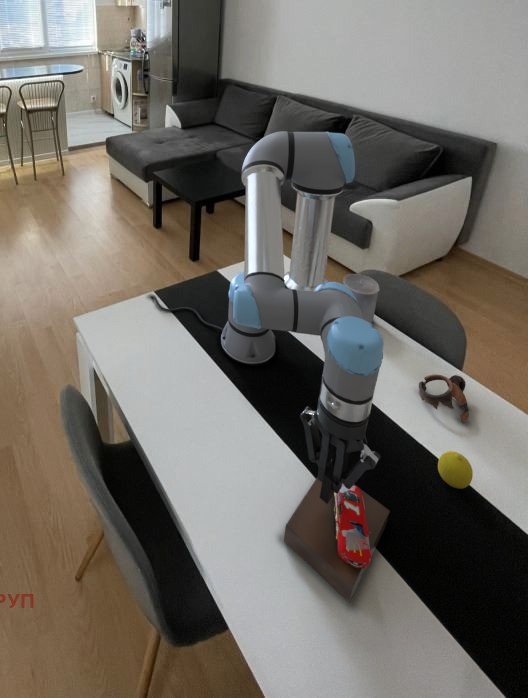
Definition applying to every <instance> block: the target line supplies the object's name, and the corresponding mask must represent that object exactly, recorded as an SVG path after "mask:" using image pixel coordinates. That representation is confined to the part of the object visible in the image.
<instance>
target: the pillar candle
mask: <svg viewBox="0 0 528 698" xmlns="http://www.w3.org/2000/svg"><path fill="white" fill-rule="evenodd" d="M342 284H343V285H345V286H347V287H348V288H349V289H350V290H351V291H352V292H353V294H354V296H355V297H356V299H357V301H358V303H359V305H360V308H361V311H362V315H363V318H364V320H365V321H367V322H369V323H370V324H372V325H373V322H374V317H375V312H376V308H377V301H378V298H379V292H380V285H379V283H378V282H377V281H376V280H375V279H373V278H372V277H370V276H367V275H364V274H361V273H349V274H346V275H345V276H344V277H343V278H342Z"/></svg>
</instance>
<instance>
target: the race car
mask: <svg viewBox="0 0 528 698" xmlns="http://www.w3.org/2000/svg"><path fill="white" fill-rule="evenodd" d="M359 488H360V487H359V486H357V485H356V484H354V485H353V486H352V487H351V488H350V489H347V488H346V487H345V486H344V484H342V488H341V489H340V491H339V492H338V493H337V494H336V493H335V492H334V494H333V504H334V518H335V531H336V540H337V552H338V554H339V556H340V557H341V558H342V559H343V560H344V561H345V562H346V563H347V564H349V565H350V566H352V567H354V568H359V569H362V568H366V569H367V568H368V567H369V566H370V565H371V564H372V563H371V562H372V556H371V551H370V544H369V537H368V534H369V533H371V532H370V531H368V530H367V522H366V515H365V507H364V501H363V497H362V493H361V491H360V489H361V488H360V489H359Z"/></svg>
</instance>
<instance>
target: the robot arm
mask: <svg viewBox="0 0 528 698" xmlns="http://www.w3.org/2000/svg"><path fill="white" fill-rule="evenodd" d="M355 162H356V160H355V154H354V149H353V144H352V141H351V140H350V138H349V136H347V135H346V134H344V133H341V132H329V131H285V130H283V131H276V132H272V133H269V134H267V135H266V136H264V137H261V138H260V140H258V141H256V143H255V144H254V145H253V146H252V147H251V148H250V150H249V151H248V153H247V154H246V156H245V158H244V161H243V163H242V167H241V183H242V184H243V186H244V187H245V205H244V206H245V207H244V208H245V210H244V211H245V213H244V214H245V217H244V220H245V221H244V265H243V266H244V268H243V269H244V271H242V272H241V271H240V272H239V273H238V274H236V275H235V276H233V278H232V279H231V281H230V284H229V290H228V299H229V300H228V315H227V317H228V318H227V322H226V323H225V325H224V327H220V326H218V325H215V324H212V323H209V322H207V321H205V320H204V318H202V316H201V314H200V313H199V312H198V311H197V310H196V309H194V308H193V307H190V306H179V307H174V308H167V307H163V306H162V305H161V304H160V302H159V301H158V298H157V297H156V296H155V295H150V296H149V297H150V299H153V300H154V302H155V303H156V305H157V307H158V308H159V309H160V310H162V311H164V312H176V311H181V310H188V311H191V312H193V313H194V314H196V316H197V318H198V319H199V320H200V322H201V323H202V324H204V325H205V326H207V327H210V328H213V329H215V330H219V331H221V332H222V333H221V335H220V346H221V349H222V351H223V352H224V354H225V355H226V356H227V357H228V358H229V359H231V361H234V362H236V363H237V364H240V365H243V366H248V367H257V366H258V367H259V366H264V365H265V364H267V363H269V362H270V361H272V359H273V358H274V356H275V354H276V335H275V334H274V332H273V330H274V331H283V332H290V333H295V334H302V335H303V334H304V335H309V336H310V335H311V336H318V337H319V336H320V340H321V343H322V348H323V351H324V362H323V370H322V375H321V384H320V389H319V395H318V400H317V408H316V410H313V408H312V407H310V406H306V407H305V408H304V409H303V410H302V412H301V413H300V414H299V418H300V421H301V423H302V424H303V427H304V434H305V435H304V436H305V441H306V447H307V453H308V459H309V461H310V462H311V463H313V464H316V466H317V468H318V471H317V477H318V480H320V481H321V482H322V486H321V492H320V499H322V500H323V501H324V502H325V503H327V504H328V503H329V501H330V499H331V498H332V496H333V494H334V492H335V493H336V494H337V493H338V492H339V491H340V489H341V488H342V484H344V486H345V487H346V488H347V489H350V488H351V487H352V486H353V485H356V483H357V481H358V480H359V479H360V478H361V477H362V476H363V474H365V472H366V471H368V470H374V469H375V468H376V466H377V464H378V462H379V461H380V459H381V455H380V454H379V453H378V452H377V451H375V450H371V449H370V447H369V445H368V440H367V437H366V432H367V429H368V423H369V419H370V414H371V410H372V404H373V400H374V395H375V391H376V385H377V382H378V378H379V373H380V368H381V366H382V364H383V359H384V344H385V343H384V337H383V335H382V334H381V332H380V331H379V330H378V329H376V328H375V326H374V325H373V323H372V324H370V323H369V322H367V321H365V320H364V318H363V315H362V311H361V308H360V305H359V303H358V301H357V299H356V297H355V296H354V294H353V292H352V291H351V290H350V289H349V288H348V287H347V286H345V285H343V283H340V282H337V281H329V280H328V279H327V278H326V272H327V271H326V270H327V262H328V255H329V249H330V239H331V231H332V225H333V224H332V223H333V217H334V209H335V200H336V197H337V196H338V195H340V194H342V193H343V191H344V187H345V184H349V183H353V181H354V178H355V173H356V163H355ZM285 180H286V181H287V180H288V181H289V180H290V181H291V183H290V184H291V185H290V186H291V188H292V189H293V190H294V191H296V201H295V202H296V203H295V212H294V222H293V223H294V224H293V233H292V242H291V253H290V264H289V271H287V272H285V261H284V260H285V259H284V258H285V256H284V255H285V254H284V237H283V215H282V196H281V194H282V193H281V192H282V191H281V186H283V185H284V183H285ZM320 434H321V435H322V436H321V439H320ZM334 448H336V450H335V456H336V457H335V462H334V465H333V464H332V462H333V453H334ZM357 452H360V456H359V457H360V459H359V460H358V462H357V463H356V464H355V465H354V467H352V469H351V470H350V471H349V473H348V472H347V468H348V467H347V466H348V462H349V458H350V457H349V456H350V454H351V453H357ZM317 477H316V478H317Z"/></svg>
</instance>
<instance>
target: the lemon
mask: <svg viewBox="0 0 528 698" xmlns="http://www.w3.org/2000/svg"><path fill="white" fill-rule="evenodd" d="M437 471H438V473H439V476H440V477H441V479H442V480H443V481H444V482H445V483H446V484H447V485H449V486H450V487H452V488H454V489H465V488H467V487H469V486H470V484H471V483H472V481H473V476H474V475H473V474H474V472H473V471H474V470H473V468H472V465H471V463H470V461H469V459H467V458H466V457H465V455H463V454H461V453H459V452H457V451H453V450H449V451H448V450H447V451H445V452H443V453H442V454H441V456H440V457H439V458H438V462H437Z"/></svg>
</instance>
